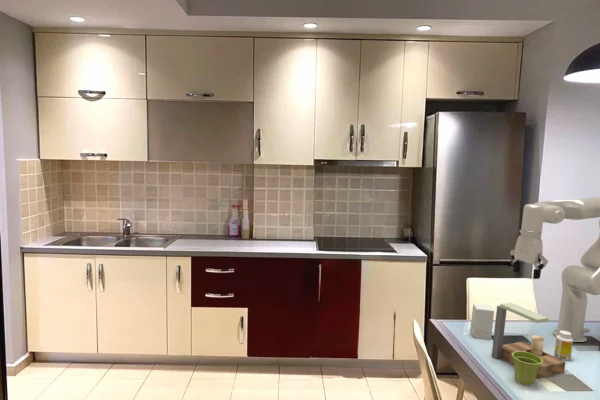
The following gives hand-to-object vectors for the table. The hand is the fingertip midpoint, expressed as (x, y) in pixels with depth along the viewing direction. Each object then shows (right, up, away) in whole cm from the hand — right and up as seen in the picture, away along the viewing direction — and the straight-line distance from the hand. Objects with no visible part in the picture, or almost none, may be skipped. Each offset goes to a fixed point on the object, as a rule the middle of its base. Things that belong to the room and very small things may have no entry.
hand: (526, 275), depth 187 cm
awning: (-14, -30, -20) cm, 39 cm away
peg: (-5, -30, -17) cm, 35 cm away
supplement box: (-16, -27, +7) cm, 32 cm away
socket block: (-8, -30, -18) cm, 36 cm away
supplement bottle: (+9, -31, -10) cm, 33 cm away
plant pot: (-16, -32, -31) cm, 47 cm away
